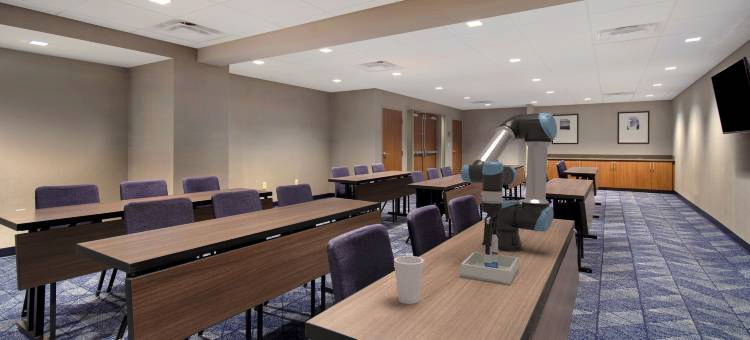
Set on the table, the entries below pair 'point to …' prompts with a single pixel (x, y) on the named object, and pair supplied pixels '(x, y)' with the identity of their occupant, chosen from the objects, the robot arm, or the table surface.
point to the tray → (490, 269)
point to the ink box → (493, 253)
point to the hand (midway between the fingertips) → (490, 259)
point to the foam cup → (408, 278)
